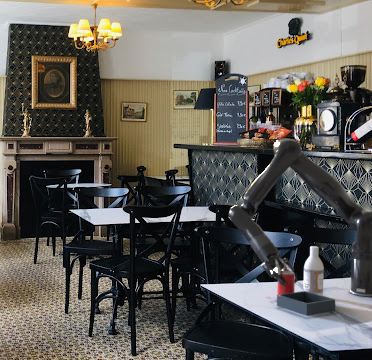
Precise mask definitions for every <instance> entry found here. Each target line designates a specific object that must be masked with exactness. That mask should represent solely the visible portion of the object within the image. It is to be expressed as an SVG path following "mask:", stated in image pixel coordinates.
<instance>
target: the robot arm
mask: <svg viewBox="0 0 372 360" xmlns="http://www.w3.org/2000/svg"><path fill="white" fill-rule="evenodd" d="M272 149H273V150H272V151H273V155H274V157H273V159H272V160H271V162H270V163H269V165H268V166H267V167H266V168H265V170H264V171H263V172H262V173H261V174H259V175H258V177H256V178H255V180H254V181H252V183H251V185H250V186H249V187H248V189H247V190H246V192H245V193H244V194H243V197H242V198H243V201H242V203H241V205H233V206H232V207H230V208H229V211H228V217H229V219H230V221H231V222H232V223H233V225H234V226H235V227H236V228H237V229H238V231H240V233H242V234H243V236H244V238H245V239H246V241H247V242H248V243H249V245H250V247H251V248H252V250H253V251H254V253H255V254H256V255H257V257H258V258H259V260H260V261H261V263H262V264H261V265H260V267H261V268H262V269H263V270H264V271H265V272H266V274H267V275H268V276H269V277H270V278H274V279H276V280H277V283H278V282H279V283H280V284H281V285H282V286H285V285H286V284H287V282H286V281H285V279H284V278H283V276H282V275H280V271H292V272H294V271H295V268H294V267H293V264H292V263H291V262H290V260H289V259H288V257H284V258H282V257H281V256H280V251H279V249H278V248H277V246H276V245H275V244H274V243H273V241H272V240H271V238H270V237H269V236H267V234H266V233H265V232H264V230H263V228H261V226H260V225H259V224H258V223H256V222H255V221H254V220H253V219H254V216H255V214H256V212H257V210H258V208H259V206H260V204H261V203H262V202H263V200H264V199H265V198H266V196H267V195H268V194H269V192H270V191H271V189H272V188H273V187H274V185H276V184H277V182H278V180H279V179H280V178H281V177H282V176H283V175H284V173H285V172H286V171H287V170H288V169H291V170H293V171H294V172H295V173H296V174H297V176H298V177H299V178H300V179H301V180H302V181H303V182H304V183H305V185H307V187H308V188H309V189H311V190H312V192H313V193H315V194H316V195H317V196H318V198H320V199H321V200H322V201H323V202H325V203H326V204H327V205H328V206H330V207H331V208H332V209H333V210H334V211H336V212H337V214H339V215H340V217H342V218H343V220H344V222H346V223H347V225H349V226H350V228H351V229H352V230H353V231H355V232H356V238H355V241H354V242H352V243H351V263H350V264H351V267H350V269H351V270H350V290H349V291H350V294H353V295H356V296H361V297H372V211H369V210H366V209H364V208H363V207H361V206H360V205H359V204H357V202H355V201H354V200H353V199H352V198H351V197H350V195H349V193H348V192H347V191H346V189H345V188H344V186H343V184H341V182H339V180H337V178H335V177H334V176H333V175H332V174H331V173H329V171H327V170H326V169H324V168H323V167H322V166H320V164H317V163H316V162H314V161H313V160H311V159H310V158H309V157H308V156H307V155H306V154H305V153H304V152H303V151H302V147H301V144H300V142H298V141H296V140H294V139H291V138H285V137H284V138H279V139H277V140H276V142H274V144H273V148H272ZM296 283H298V279H297V277H296V276H295V284H296Z"/></svg>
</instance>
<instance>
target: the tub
mask: <svg viewBox="0 0 372 360" xmlns="http://www.w3.org/2000/svg"><path fill="white" fill-rule="evenodd" d="M276 306H277V307H279V308H282V309H285V310H288V311H292V312H294V313H298V314H300V315H303V316H313V315H319V314H325V313H331V312H335V311H336V299H334V298H331V297H328V296H325V295H323V296H321V295H317V294H314V293H310V292H307V291H304V290H302V291H301V290H300V291H294V293H287V294H280V295H277V294H276Z"/></svg>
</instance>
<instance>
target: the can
mask: <svg viewBox="0 0 372 360" xmlns="http://www.w3.org/2000/svg"><path fill="white" fill-rule="evenodd" d="M280 275H282V276H283V278H284V279H285V281H286V282H287V284H286V285H285V286H282V285H281V284H280V283H279V282H278V281H277V291H276V292H277V294H276V296H277V295H280V294H287V293H294V292H296V290H295V287H296V283H295V277H296V273H295V272H294V271H293V272H292V271H287V270H285V271H280Z"/></svg>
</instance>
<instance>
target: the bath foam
mask: <svg viewBox="0 0 372 360" xmlns="http://www.w3.org/2000/svg"><path fill="white" fill-rule="evenodd" d="M319 248H320V247H319V246H314V245H311V246H310V247H309V256H308V258H307V259H306V260H305V263H304V266H303V291H307V292H310V293H314V294H317V295H321V296H324V274H325V273H324V271H325V269H324V264H323V262H322V260H321V258H320V257H319Z"/></svg>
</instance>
